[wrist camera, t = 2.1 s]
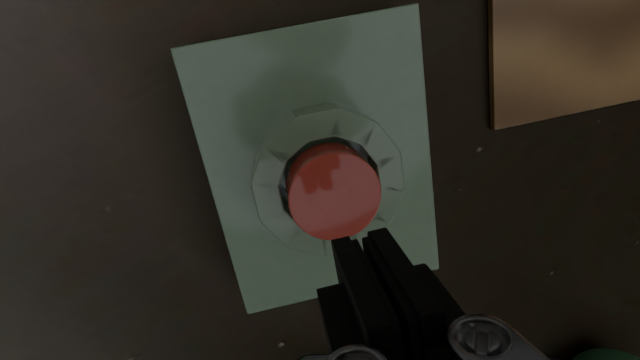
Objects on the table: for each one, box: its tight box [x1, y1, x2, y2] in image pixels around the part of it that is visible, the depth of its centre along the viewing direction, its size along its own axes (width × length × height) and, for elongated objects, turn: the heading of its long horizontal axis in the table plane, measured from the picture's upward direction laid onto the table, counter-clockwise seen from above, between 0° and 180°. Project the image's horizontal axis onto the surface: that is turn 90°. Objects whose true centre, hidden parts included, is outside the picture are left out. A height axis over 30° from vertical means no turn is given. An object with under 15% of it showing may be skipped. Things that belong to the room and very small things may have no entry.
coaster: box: [488, 0, 640, 130], centre depth 22 cm, size 11×11×1 cm
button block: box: [170, 3, 439, 314], centre depth 20 cm, size 14×11×5 cm
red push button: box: [286, 143, 381, 240], centre depth 18 cm, size 4×4×2 cm
